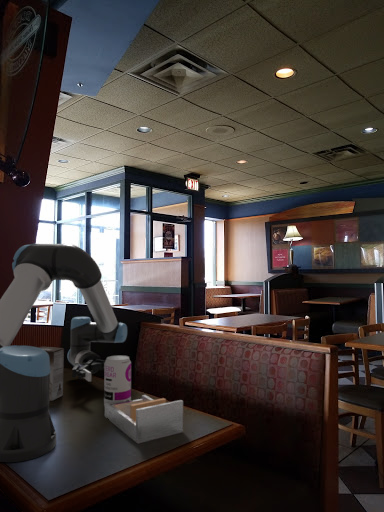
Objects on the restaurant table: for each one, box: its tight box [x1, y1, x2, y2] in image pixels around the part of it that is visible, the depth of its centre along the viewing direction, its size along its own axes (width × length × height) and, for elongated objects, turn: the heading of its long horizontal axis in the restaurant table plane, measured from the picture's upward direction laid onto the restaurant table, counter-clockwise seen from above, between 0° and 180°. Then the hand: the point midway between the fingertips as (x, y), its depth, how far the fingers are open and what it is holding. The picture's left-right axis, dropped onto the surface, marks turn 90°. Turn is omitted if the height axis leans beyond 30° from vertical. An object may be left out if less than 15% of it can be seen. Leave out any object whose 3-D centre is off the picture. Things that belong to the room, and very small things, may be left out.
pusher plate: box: [130, 397, 167, 422], centre depth 106 cm, size 1×10×6 cm, turn 123°
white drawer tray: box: [104, 394, 184, 444], centre depth 110 cm, size 22×13×8 cm, turn 33°
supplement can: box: [103, 354, 132, 407], centre depth 124 cm, size 8×8×15 cm
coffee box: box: [38, 346, 65, 402], centre depth 133 cm, size 9×6×16 cm
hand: (110, 374), depth 130 cm, fingers open, 13 cm apart
